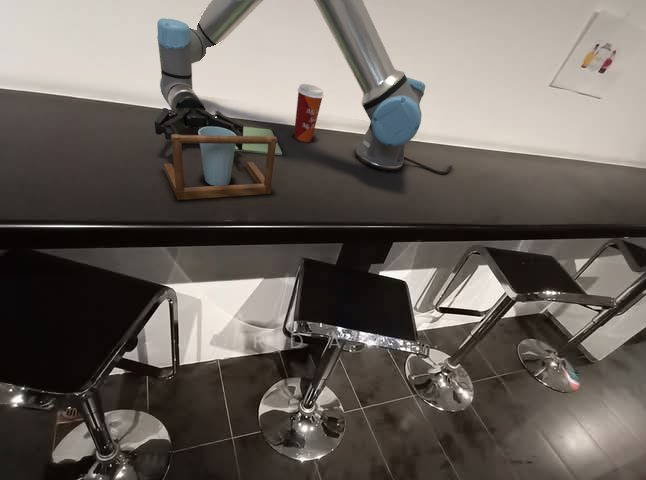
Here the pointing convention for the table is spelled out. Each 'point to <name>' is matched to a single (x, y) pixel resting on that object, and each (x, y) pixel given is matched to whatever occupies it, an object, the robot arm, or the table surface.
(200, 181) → the table surface
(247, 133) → the mat
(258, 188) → the rack
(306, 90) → the paper cup
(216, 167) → the cup
